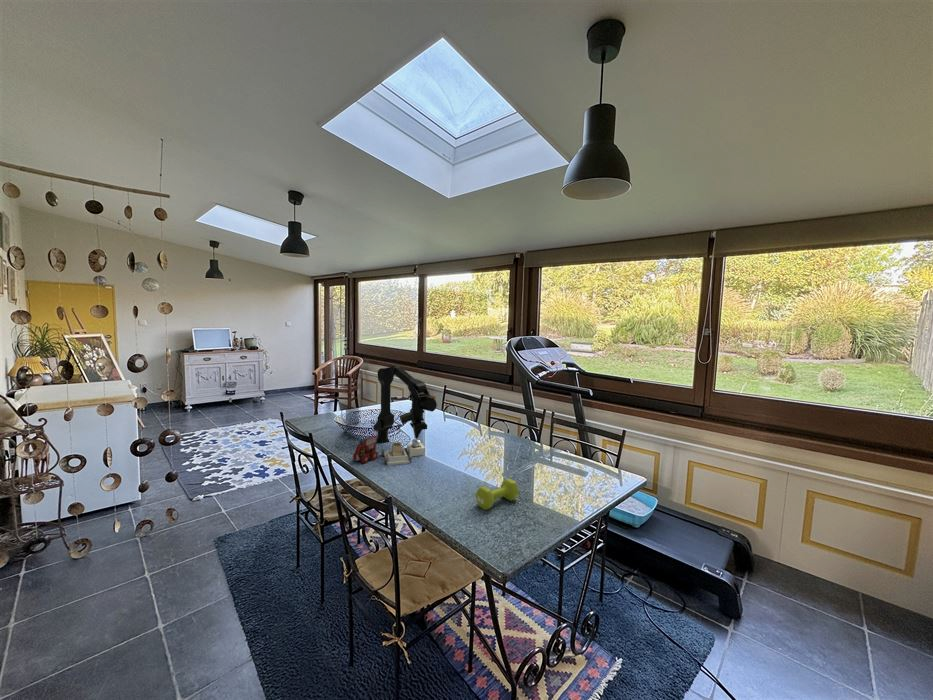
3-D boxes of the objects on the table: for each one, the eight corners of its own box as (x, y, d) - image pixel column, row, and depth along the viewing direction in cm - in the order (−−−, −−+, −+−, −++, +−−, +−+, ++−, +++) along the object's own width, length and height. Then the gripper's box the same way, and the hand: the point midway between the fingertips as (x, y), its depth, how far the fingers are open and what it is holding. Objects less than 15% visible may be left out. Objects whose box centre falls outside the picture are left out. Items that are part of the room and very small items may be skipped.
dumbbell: (486, 514, 123) (487, 494, 123) (472, 504, 130) (473, 485, 129) (520, 501, 133) (521, 483, 133) (505, 493, 139) (506, 475, 139)
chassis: (381, 454, 172) (381, 448, 172) (405, 452, 177) (406, 446, 176) (385, 465, 159) (385, 459, 159) (411, 463, 163) (411, 456, 163)
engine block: (391, 456, 168) (392, 442, 168) (400, 455, 170) (400, 441, 169) (392, 459, 164) (393, 445, 164) (401, 458, 166) (402, 444, 165)
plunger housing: (406, 451, 178) (407, 444, 178) (421, 449, 181) (421, 443, 181) (409, 456, 172) (410, 449, 171) (424, 455, 174) (425, 448, 174)
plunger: (411, 446, 177) (411, 439, 177) (418, 445, 178) (419, 438, 178) (412, 448, 174) (413, 441, 173) (420, 448, 175) (420, 441, 175)
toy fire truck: (349, 462, 162) (349, 439, 161) (370, 454, 172) (370, 433, 171) (359, 466, 158) (360, 443, 157) (380, 457, 168) (381, 436, 167)
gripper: (397, 403, 180) (396, 433, 182) (404, 413, 163) (403, 446, 164) (419, 403, 184) (418, 432, 186) (428, 412, 167) (426, 444, 168)
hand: (416, 438), depth 176 cm, fingers closed
